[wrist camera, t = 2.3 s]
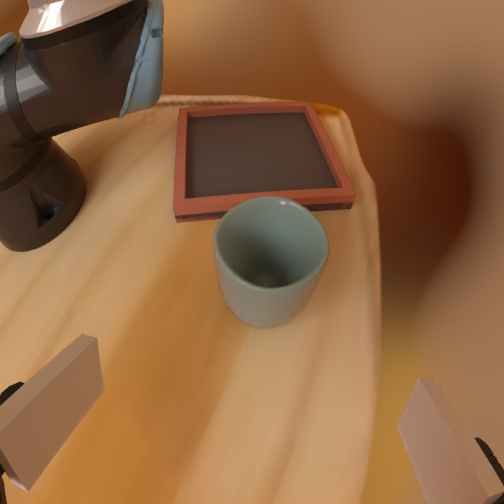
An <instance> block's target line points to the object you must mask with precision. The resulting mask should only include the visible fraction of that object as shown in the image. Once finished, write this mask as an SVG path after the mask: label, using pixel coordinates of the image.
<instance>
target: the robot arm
mask: <svg viewBox="0 0 504 504" xmlns="http://www.w3.org/2000/svg"><path fill="white" fill-rule="evenodd" d="M28 3H29V7H30V9H29V12H28V14H27V16H26V18H25V20H24V22H23V24H22V26H21V28H20V31H19V33H20V37H21V39H22V41H20V42H17V40H18V38H17V36H15V34H14V33H12V32H10V33H8V34H7V35H4V36H2V37H1V38H0V241H1V242H2V244H3V245H4V246H5V247H6V248H8V249H10V250H12V251H18V252H22V251H29V250H32V249H35V248H38V247H40V246H42V245H44V244H46V243H47V242H49V241H50V240H52V239H53V238H54V237H56V236H57V235H58V234H59V233H60V232H62V231H63V230H64V229H65V228H66V227H67V225H68V224H69V223H70V222H71V221H72V219H73V218H74V217H75V215H76V214H77V212H78V211H79V209H80V207H81V205H82V203H83V200H84V197H85V193H86V181H85V178H84V175H83V173H82V171H81V169H80V167H79V165H78V164H77V162H76V161H75V160H73V159H72V158H71V157H70V156H69V155H68V154H67V153H66V152H65V151H64V150H63V149H62V148H61V147H60V146H59V145H58V144H57V143H56V142H55V141H54V140H53V139H52V137H53V136H56V135H59V134H62V133H65V132H68V131H71V130H74V129H77V128H80V127H84V126H87V125H90V124H94V123H97V122H101V121H104V120H108V119H112V118H116V117H117V118H122V117H124V116H125V115H127V114H130V113H134V112H137V111H141V110H145V109H148V108H150V107H152V106H153V105H154V104H155V103H156V102H157V101H158V100H159V98H160V95H161V91H162V78H163V23H164V21H163V20H164V8H163V1H162V0H28ZM103 391H104V385H103V378H102V372H101V365H100V357H99V349H98V341H97V338H95V337H92V336H88V335H85V334H81V335H80V336H79V337H78V338H77V339H76V340H74V341H73V342H72V343H71V344H70V345H68V346H67V347H66V348H65V349H64V350H63V351H61V352H60V353H59V354H58V355H57V356H56V357H54V358H53V359H52V360H51V361H50V362H49V363H48V364H46V365H45V366H44V367H43V368H42V369H41V370H40V371H38V372H37V373H36V374H35V375H34V376H33V377H32V378H31V379H29V380H28V381H27V382H26V383H25V384H24V383H22V382H18V383H16V384H14V385H11V386H9V387H8V388H7V389H6V390H4V391H3V392H2V393H1V395H0V504H7V501H6V495H5V488H4V482H3V479H2V477H1V476H2V475H3V474H4V472H5V473H6V474H7V476H8V477H9V479H10V480H11V482H13V483H14V484H16V485H17V486H19V487H21V488H22V489H24V490H25V491H27V492H28V491H29V490H30V489H31V487H32V486H33V484H34V483H35V482H36V480H37V479H38V478H39V476H40V475H41V473H42V472H43V471H44V469H45V468H46V467H47V465H48V464H49V462H50V461H51V460H52V458H53V457H54V456H55V454H56V453H57V452H58V450H59V449H60V448H61V446H62V445H63V444H64V442H65V441H66V440H67V438H68V437H69V436H70V434H71V433H72V432H73V430H74V429H75V428H76V426H77V425H78V424H79V422H80V421H81V420H82V419H83V417H84V416H85V415H86V413H87V412H88V411H89V409H90V408H91V407H92V406H93V404H94V403H95V402H96V400H97V399H98V398H99V397H100V395H101V394H102V393H103ZM396 427H397V429H398V432H399V434H400V437H401V439H402V441H403V444H404V446H405V448H406V451H407V453H408V456H409V458H410V461H411V463H412V466H413V468H414V470H415V473H416V476H417V478H418V481H419V483H420V486H421V488H422V491H423V494H424V496H425V499H426V502H427V504H504V469H503V468H502V466H501V465H500V463H498V460H497V458H496V457H495V456H493V452H492V451H491V449H490V448H489V446H488V445H487V444H486V443H485V442H484V441H482V440H481V439H479V438H474V437H473V436H472V434H471V432H470V431H469V429H468V428H467V426H466V425H465V423H464V422H463V420H462V419H461V417H460V416H459V414H458V413H457V412H456V410H455V409H454V407H453V406H452V404H451V403H450V401H449V400H448V398H447V397H446V396H445V394H444V393H443V391H442V390H441V388H440V387H439V386H438V384H437V383H436V381H435V380H434V379H433V378H418V379H417V382H416V384H415V387H414V389H413V391H412V393H411V396H410V398H409V400H408V403H407V405H406V407H405V409H404V411H403V413H402V416H401V418H400V420H399V422H398V424H397V426H396Z"/></svg>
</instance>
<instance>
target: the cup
mask: <svg viewBox="0 0 504 504" xmlns="http://www.w3.org/2000/svg"><path fill="white" fill-rule="evenodd" d="M213 250H214V259H215V266H216V273H217V279H218V284H219V287H220V290H221V293H222V296H223V299H224V301H225V303H226V304H227V306H228V308H229V310H230V311H231V312H232V313H233V314H234V315H235V317H236V318H237V319H239V320H240V321H241V322H242V323H244V324H246V325H248V326H250V327H253V328H256V329H271V328H276V327H278V326H281V325H283V324H285V323H287V322H288V321H290V320H291V319H292V318H294V317H295V316H296V315H297V314H298V313H299V312H300V311H301V310H302V309H303V307H304V306H305V305H306V303H307V302H308V301H309V299H310V297H311V295H312V294H313V292H314V290H315V288H316V286H317V284H318V281H319V279H320V277H321V275H322V273H323V271H324V268H325V266H326V263H327V260H328V255H329V241H328V237H327V234H326V232H325V230H324V228H323V226H322V225H321V223H320V222H319V220H318V219H317V218H316V217H315V216H314V215H313V214H312V213H311V212H310V211H309V210H308V209H306V208H305V207H303V206H302V205H300V204H299V203H297V202H295V201H292V200H290V199H287V198H283V197H279V196H262V197H257V198H253V199H249V200H247V201H244V202H242V203H240V204H238V205H237V206H235V207H233V208H232V209H231V210H229V211H228V212H227V213H226V214H225V215H224V216H223V217H222V218H221V220H220V221H219V222H218V225H217V227H216V229H215V232H214V238H213Z"/></svg>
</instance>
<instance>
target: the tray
mask: <svg viewBox="0 0 504 504" xmlns="http://www.w3.org/2000/svg"><path fill="white" fill-rule="evenodd" d="M262 196H279V197H283V198H287V199H290V200H292V201H295V202H297V203H299V204H300V205H302V206H303V207H305V208H306V209H308V210H309V211H322V210H338V209H351V206H352V204H353V201H354V199H355V196H356V194H355V192H354V190H353V187H352V185H351V183H350V181H349V178H348V176H347V174H346V172H345V170H344V168H343V166H342V163H341V161H340V159H339V157H338V155H337V153H336V151H335V149H334V147H333V145H332V143H331V141H330V139H329V137H328V135H327V133H326V131H325V129H324V127H323V125H322V123H321V121H320V120H319V118H318V116H317V114H316V112H315V110H314V108H313V107H312V105H311V103H309V102H267V103H240V104H224V105H211V106H199V107H190V108H181V109H179V117H178V129H177V143H176V158H175V177H174V201H173V210H174V214H175V218H176V222H177V223H180V222H190V221H200V220H210V219H221V218H222V217H223V216H224V215H225V214H226V213H227V212H228V211H229V210H231V209H232V208H233V207H235V206H237V205H238V204H240V203H242V202H244V201H247V200H249V199H253V198H257V197H262Z"/></svg>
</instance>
